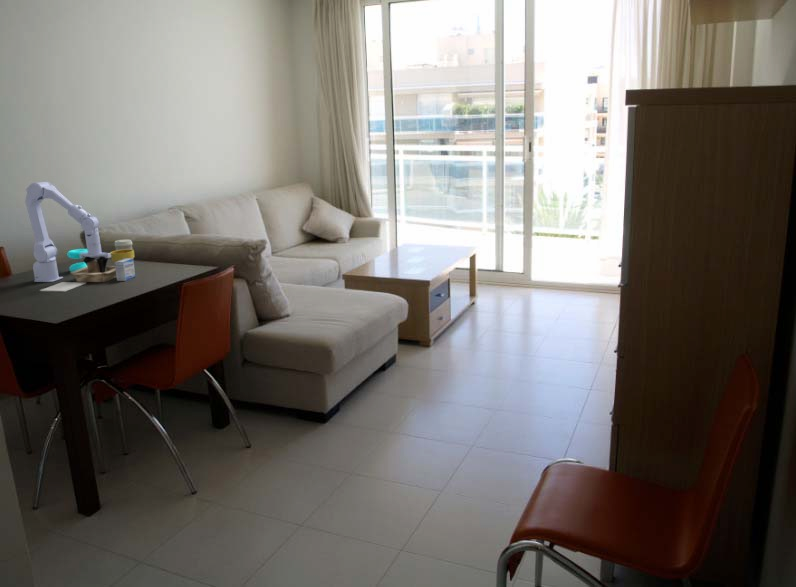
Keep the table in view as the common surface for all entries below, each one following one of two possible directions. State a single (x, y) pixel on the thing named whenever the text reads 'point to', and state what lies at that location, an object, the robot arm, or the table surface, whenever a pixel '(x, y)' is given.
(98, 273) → the carton
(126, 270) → the medicine box
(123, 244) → the coffee cup
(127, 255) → the plant pot
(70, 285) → the felt mat
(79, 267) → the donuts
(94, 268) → the walnut box
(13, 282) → the table surface
